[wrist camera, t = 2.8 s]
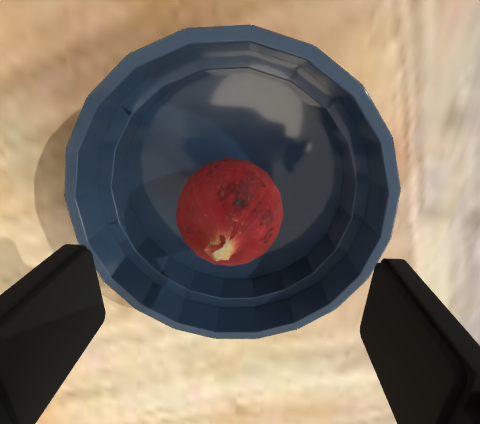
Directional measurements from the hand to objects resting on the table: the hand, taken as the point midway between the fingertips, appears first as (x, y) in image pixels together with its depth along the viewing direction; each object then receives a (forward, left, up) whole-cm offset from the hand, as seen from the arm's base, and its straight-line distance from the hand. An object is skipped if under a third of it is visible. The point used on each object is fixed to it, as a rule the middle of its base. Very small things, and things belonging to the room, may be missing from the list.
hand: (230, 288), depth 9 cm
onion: (0, 0, -11) cm, 11 cm away
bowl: (0, 0, -11) cm, 11 cm away
